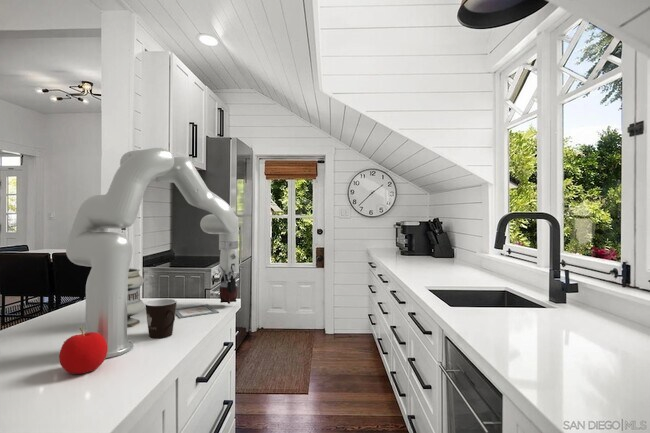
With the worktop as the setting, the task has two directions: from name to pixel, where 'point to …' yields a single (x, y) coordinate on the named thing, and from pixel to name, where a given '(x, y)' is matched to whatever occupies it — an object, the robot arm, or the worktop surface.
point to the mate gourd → (226, 295)
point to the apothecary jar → (134, 296)
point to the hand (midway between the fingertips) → (228, 289)
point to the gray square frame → (180, 316)
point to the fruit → (83, 352)
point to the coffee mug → (160, 317)
